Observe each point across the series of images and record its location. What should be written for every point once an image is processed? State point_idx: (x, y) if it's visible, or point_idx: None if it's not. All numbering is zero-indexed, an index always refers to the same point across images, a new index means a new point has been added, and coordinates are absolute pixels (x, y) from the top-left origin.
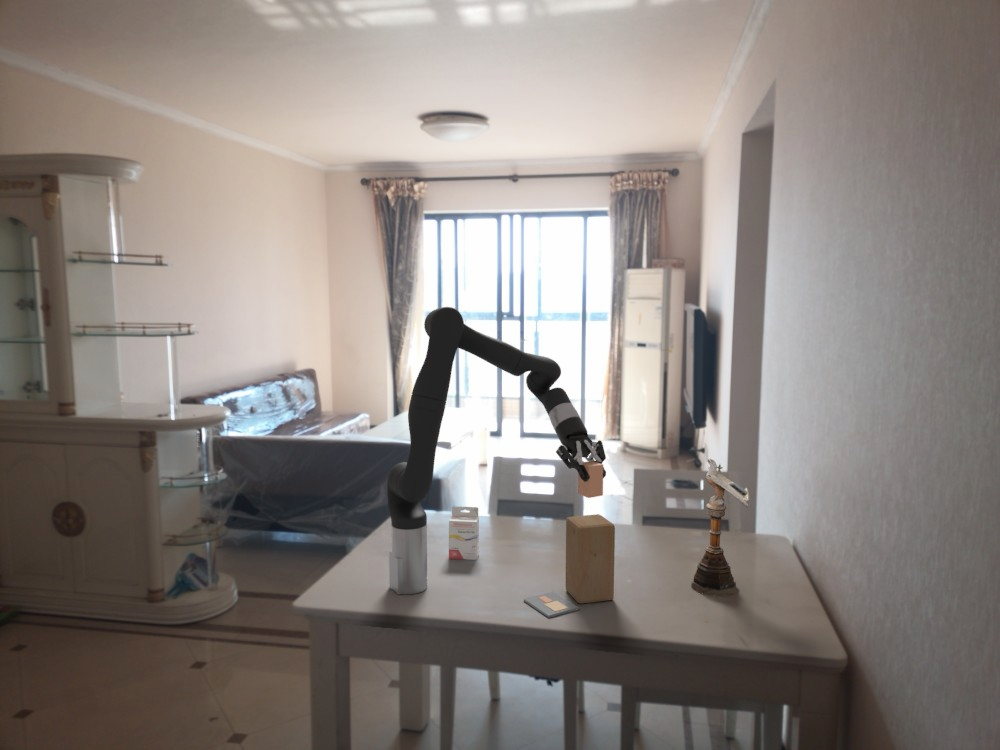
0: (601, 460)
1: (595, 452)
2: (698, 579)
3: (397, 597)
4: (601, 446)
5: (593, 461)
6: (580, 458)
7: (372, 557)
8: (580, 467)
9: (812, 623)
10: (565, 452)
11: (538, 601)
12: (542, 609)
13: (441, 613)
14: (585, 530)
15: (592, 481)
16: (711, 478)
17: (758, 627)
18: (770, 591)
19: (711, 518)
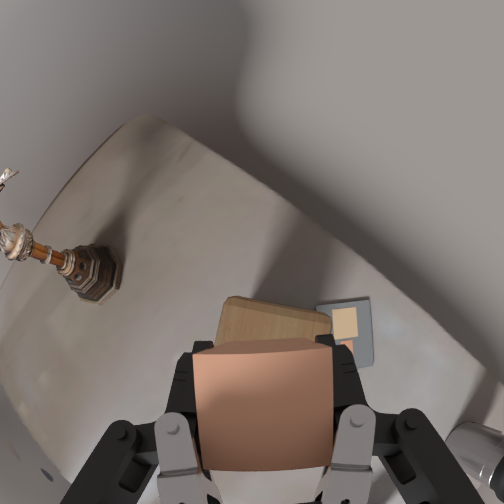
0: (148, 430)
1: (168, 480)
2: (109, 275)
3: (478, 416)
4: (76, 501)
5: (203, 456)
6: (346, 455)
7: None
8: (357, 399)
9: (101, 160)
10: (459, 481)
11: (359, 348)
12: (367, 321)
13: (465, 362)
14: (317, 311)
15: (288, 342)
16: None
17: (146, 168)
18: (65, 233)
19: (33, 249)
